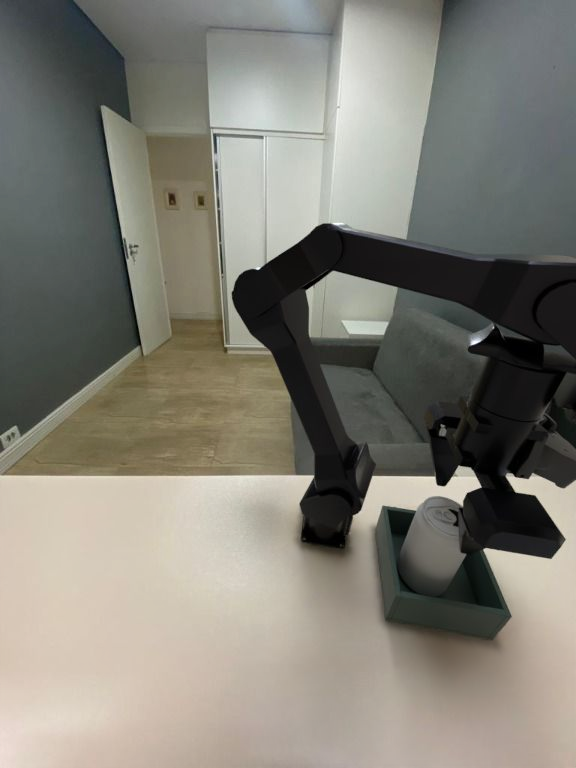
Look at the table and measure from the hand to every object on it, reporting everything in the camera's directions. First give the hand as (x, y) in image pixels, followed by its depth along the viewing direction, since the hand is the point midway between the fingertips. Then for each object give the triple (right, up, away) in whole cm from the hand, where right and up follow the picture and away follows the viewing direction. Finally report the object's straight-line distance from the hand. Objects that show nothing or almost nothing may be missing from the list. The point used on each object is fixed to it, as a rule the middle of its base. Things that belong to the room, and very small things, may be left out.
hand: (451, 515), depth 36 cm
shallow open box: (-1, -11, +5) cm, 12 cm away
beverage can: (-1, -10, +5) cm, 12 cm away
